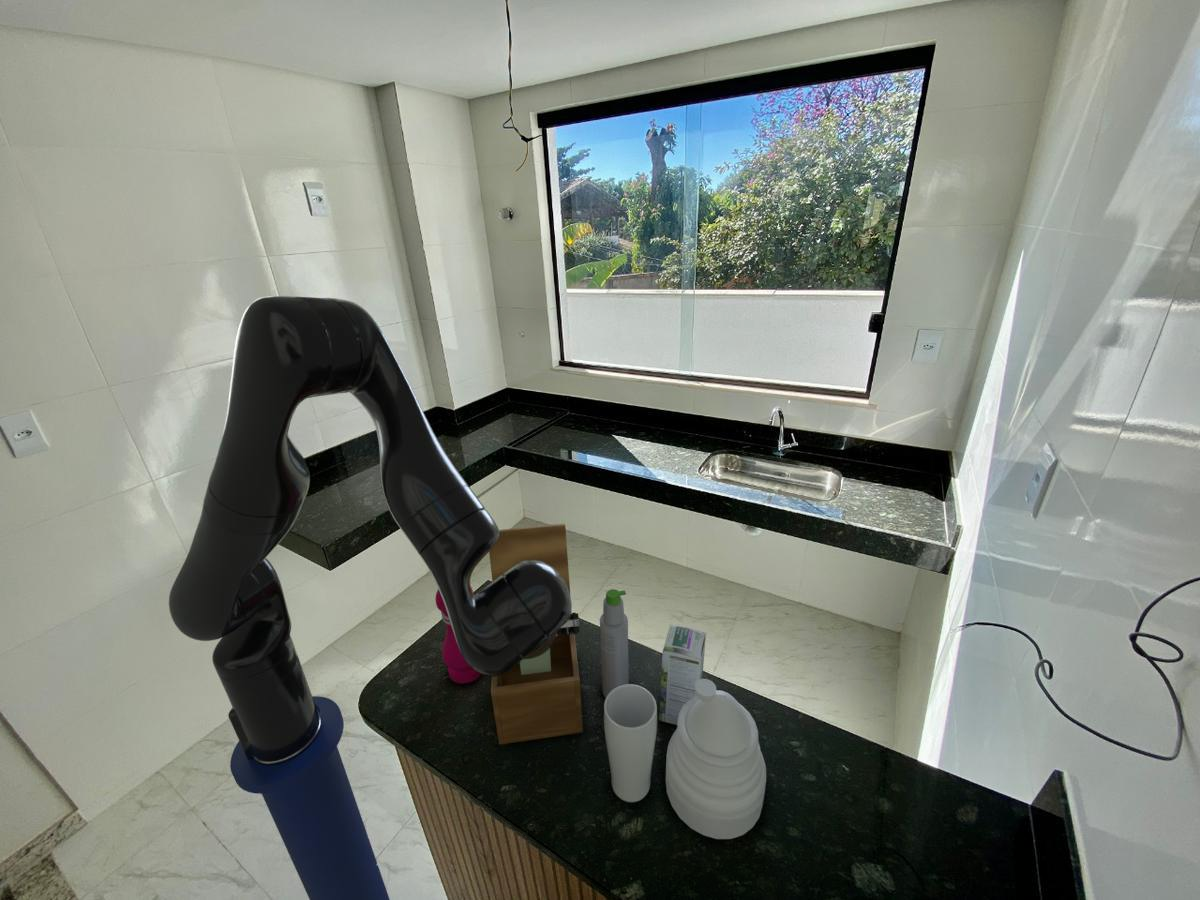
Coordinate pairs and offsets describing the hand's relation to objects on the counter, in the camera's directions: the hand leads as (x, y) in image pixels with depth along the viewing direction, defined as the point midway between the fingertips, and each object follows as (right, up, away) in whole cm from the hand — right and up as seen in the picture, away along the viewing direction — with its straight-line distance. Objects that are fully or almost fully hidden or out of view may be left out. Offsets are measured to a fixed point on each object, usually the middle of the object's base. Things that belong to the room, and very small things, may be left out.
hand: (533, 631), depth 74 cm
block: (0, -4, 0) cm, 4 cm away
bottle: (+13, -12, +6) cm, 19 cm away
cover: (-1, +8, +6) cm, 10 cm away
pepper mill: (-13, -11, +11) cm, 21 cm away
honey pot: (+26, -18, -8) cm, 32 cm away
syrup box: (+23, -14, +3) cm, 27 cm away
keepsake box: (0, -13, +5) cm, 14 cm away
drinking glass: (+14, -18, -8) cm, 24 cm away
